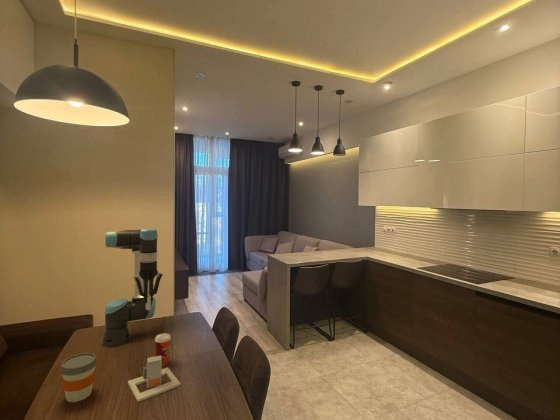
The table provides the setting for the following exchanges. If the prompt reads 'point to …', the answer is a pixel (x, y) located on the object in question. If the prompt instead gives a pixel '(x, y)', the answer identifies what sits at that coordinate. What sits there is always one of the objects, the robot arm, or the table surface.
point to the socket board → (152, 391)
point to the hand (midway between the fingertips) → (148, 309)
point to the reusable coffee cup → (78, 376)
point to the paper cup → (163, 347)
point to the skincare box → (154, 371)
